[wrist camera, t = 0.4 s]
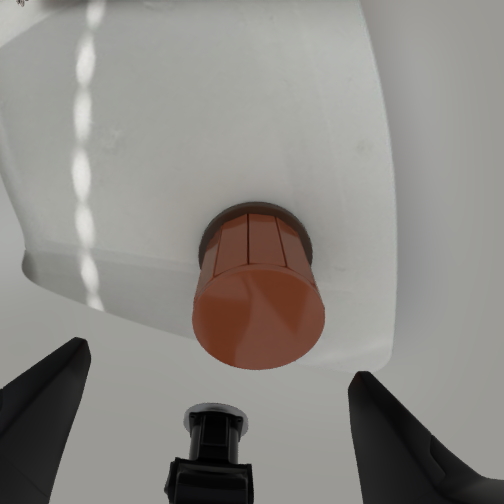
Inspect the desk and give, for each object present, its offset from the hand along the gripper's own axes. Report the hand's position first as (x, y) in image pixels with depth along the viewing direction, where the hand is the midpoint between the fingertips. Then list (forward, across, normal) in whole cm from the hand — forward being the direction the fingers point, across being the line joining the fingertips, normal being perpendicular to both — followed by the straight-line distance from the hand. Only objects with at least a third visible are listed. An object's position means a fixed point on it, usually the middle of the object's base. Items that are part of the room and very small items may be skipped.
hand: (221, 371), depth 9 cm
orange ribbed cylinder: (+13, -2, +3) cm, 13 cm away
